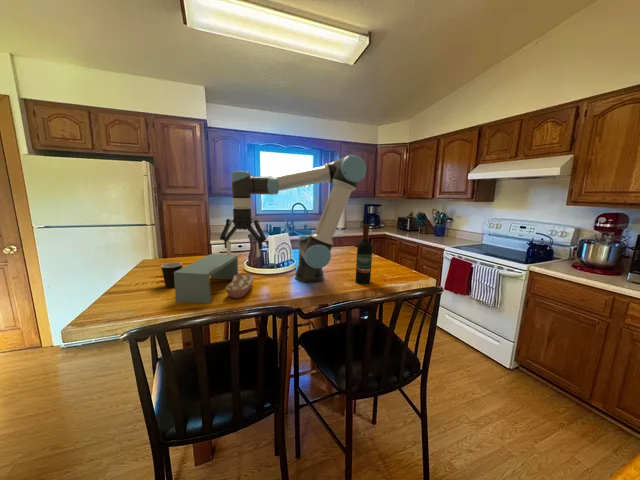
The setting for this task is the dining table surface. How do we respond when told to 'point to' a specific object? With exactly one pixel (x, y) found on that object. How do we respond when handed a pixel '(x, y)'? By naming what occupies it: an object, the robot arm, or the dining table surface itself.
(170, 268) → the coffee mug
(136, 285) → the dining table surface
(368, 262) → the wine bottle
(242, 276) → the brown bread loaf
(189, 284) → the stand
